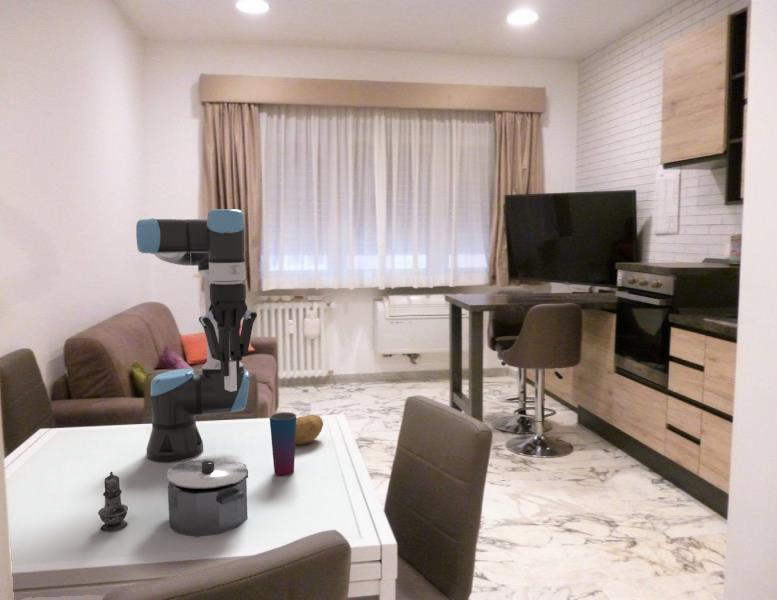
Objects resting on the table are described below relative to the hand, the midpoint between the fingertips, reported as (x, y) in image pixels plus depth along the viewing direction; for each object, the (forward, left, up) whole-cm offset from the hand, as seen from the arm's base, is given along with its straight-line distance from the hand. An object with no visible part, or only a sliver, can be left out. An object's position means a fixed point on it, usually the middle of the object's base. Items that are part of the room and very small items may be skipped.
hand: (230, 389), depth 134 cm
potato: (-26, +39, -28) cm, 55 cm away
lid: (-1, -6, -18) cm, 19 cm away
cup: (-11, +21, -28) cm, 37 cm away
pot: (-1, -6, -28) cm, 28 cm away
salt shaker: (-12, -22, -28) cm, 37 cm away
